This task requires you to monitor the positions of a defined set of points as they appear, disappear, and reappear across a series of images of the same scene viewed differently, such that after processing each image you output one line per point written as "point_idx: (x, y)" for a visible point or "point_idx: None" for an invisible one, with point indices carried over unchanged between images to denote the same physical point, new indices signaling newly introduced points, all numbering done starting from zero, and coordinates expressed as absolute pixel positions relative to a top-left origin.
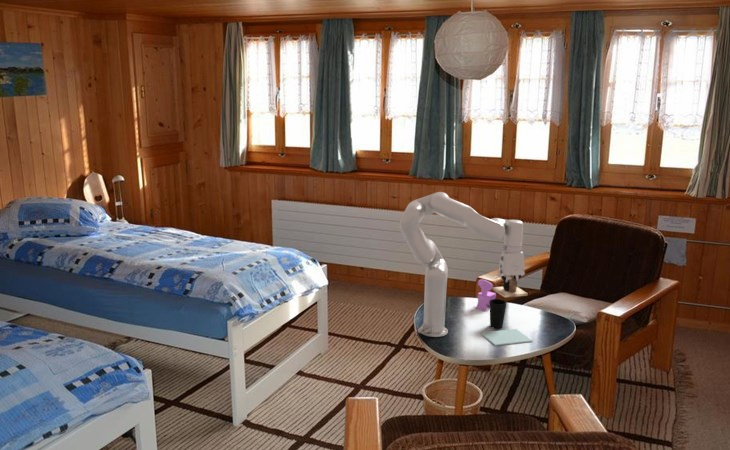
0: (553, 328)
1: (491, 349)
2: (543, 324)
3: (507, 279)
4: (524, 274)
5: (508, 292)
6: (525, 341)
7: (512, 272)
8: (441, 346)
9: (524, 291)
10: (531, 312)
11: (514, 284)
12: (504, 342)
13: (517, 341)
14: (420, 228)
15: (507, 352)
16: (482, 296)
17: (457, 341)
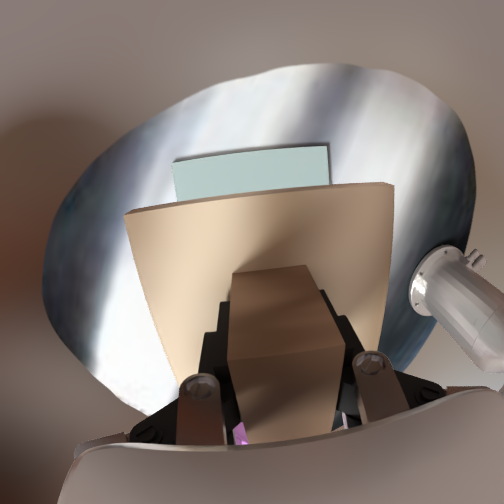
0: (76, 268)
1: (348, 122)
2: (97, 300)
3: (372, 380)
4: (83, 442)
5: (320, 261)
6: (199, 158)
7: (376, 485)
8: (460, 184)
9: (140, 271)
10: (116, 372)
11: (262, 318)
12: (285, 157)
13: (231, 159)
14: None
15: (303, 87)
16: (240, 434)
17: (417, 207)
